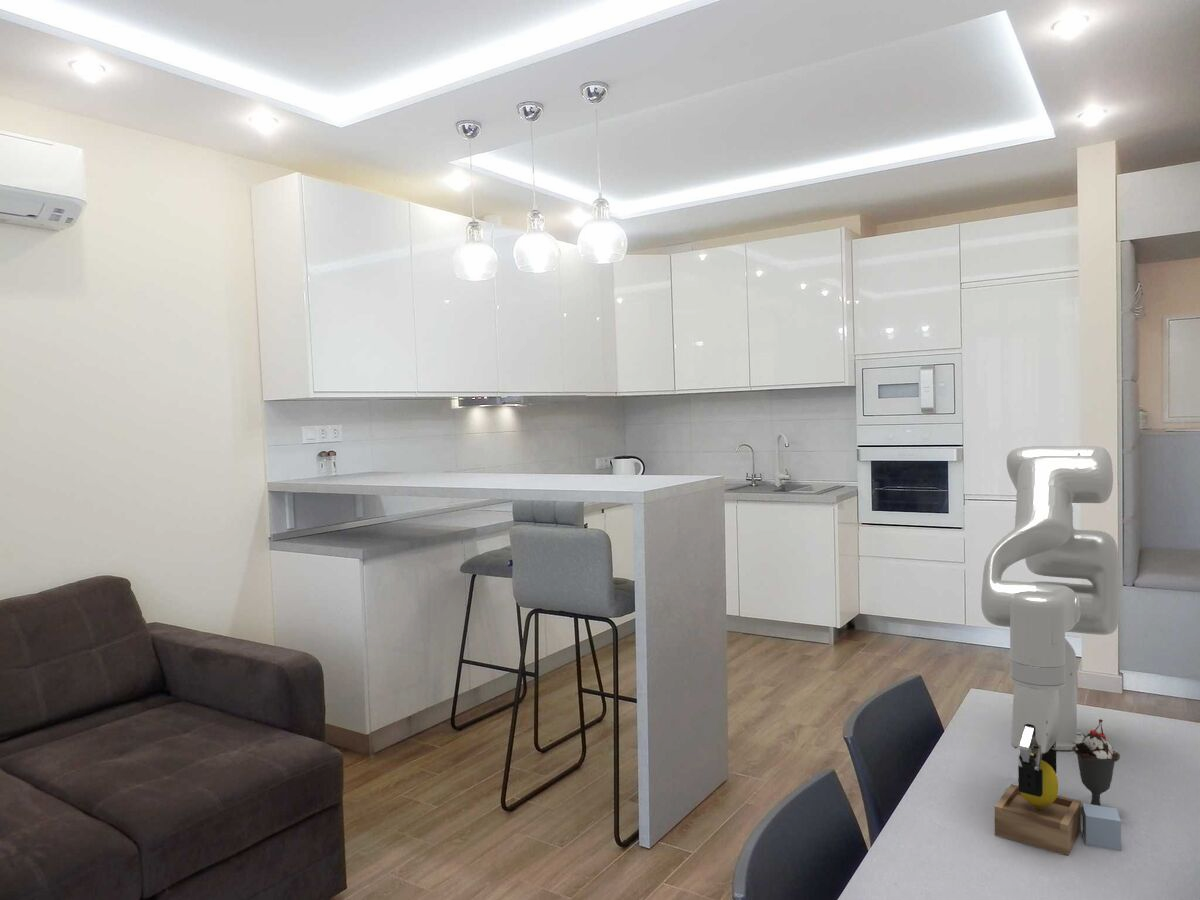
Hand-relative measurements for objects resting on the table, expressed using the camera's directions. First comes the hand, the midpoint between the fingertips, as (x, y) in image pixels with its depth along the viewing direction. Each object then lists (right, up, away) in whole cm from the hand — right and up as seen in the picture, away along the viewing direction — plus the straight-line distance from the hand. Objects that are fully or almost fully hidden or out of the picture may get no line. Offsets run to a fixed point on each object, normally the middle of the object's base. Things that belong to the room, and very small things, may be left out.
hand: (1037, 782), depth 128 cm
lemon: (0, -4, 0) cm, 4 cm away
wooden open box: (0, -8, 0) cm, 8 cm away
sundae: (+13, -8, +6) cm, 16 cm away
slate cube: (+8, -8, -3) cm, 12 cm away
